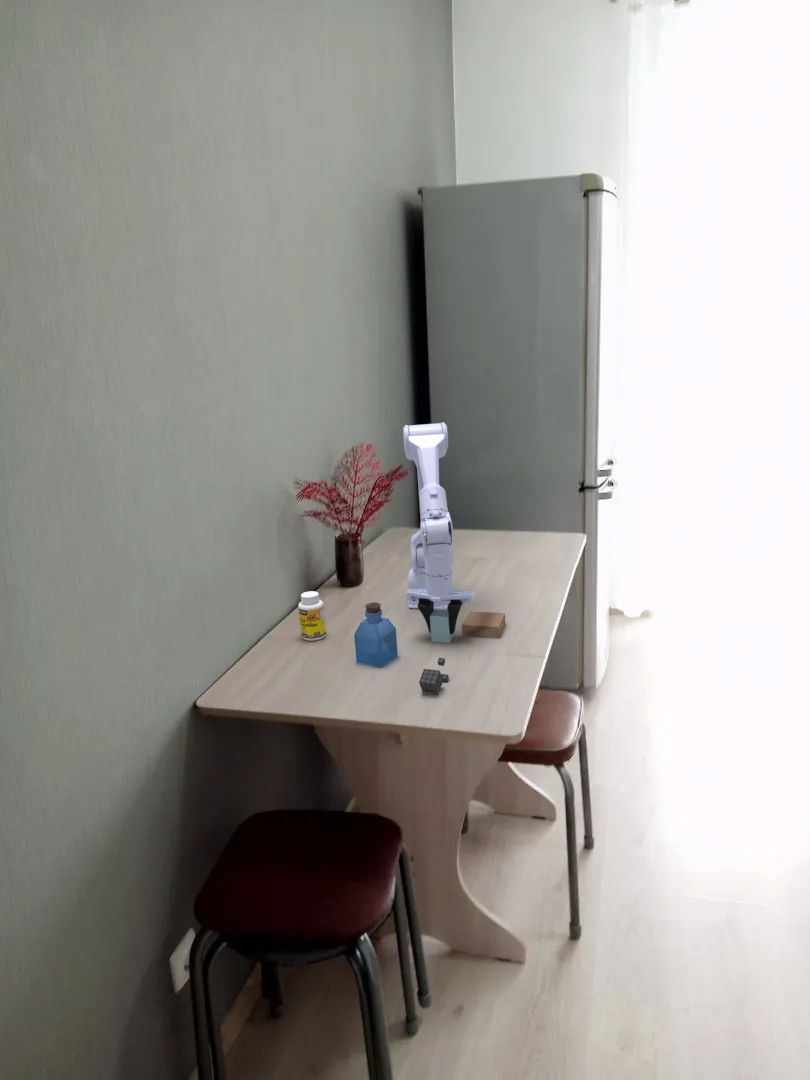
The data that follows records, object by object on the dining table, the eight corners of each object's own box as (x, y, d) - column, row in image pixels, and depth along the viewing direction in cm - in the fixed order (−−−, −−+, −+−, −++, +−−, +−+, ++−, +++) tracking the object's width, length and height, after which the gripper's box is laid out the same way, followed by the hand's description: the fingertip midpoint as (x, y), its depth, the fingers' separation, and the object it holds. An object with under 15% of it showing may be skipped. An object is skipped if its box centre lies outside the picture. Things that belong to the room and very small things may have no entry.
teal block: (431, 641, 176) (429, 616, 174) (436, 634, 180) (434, 609, 178) (449, 642, 175) (448, 616, 173) (453, 635, 178) (452, 610, 177)
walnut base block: (462, 637, 178) (462, 624, 177) (470, 623, 185) (470, 611, 184) (498, 639, 176) (498, 626, 175) (505, 625, 183) (505, 613, 182)
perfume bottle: (381, 667, 165) (377, 612, 162) (356, 662, 169) (351, 608, 165) (397, 655, 170) (393, 602, 167) (373, 650, 174) (368, 598, 170)
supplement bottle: (297, 641, 181) (292, 597, 178) (307, 631, 186) (303, 589, 183) (320, 642, 180) (316, 599, 177) (330, 632, 185) (326, 590, 182)
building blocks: (418, 682, 152) (431, 648, 157) (425, 699, 156) (437, 666, 161) (434, 684, 151) (447, 650, 156) (440, 701, 154) (452, 668, 160)
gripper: (400, 577, 171) (405, 637, 175) (468, 580, 167) (471, 641, 171) (410, 566, 178) (414, 624, 182) (475, 568, 174) (477, 628, 177)
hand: (442, 631), depth 177 cm, fingers closed on teal block, 4 cm apart
